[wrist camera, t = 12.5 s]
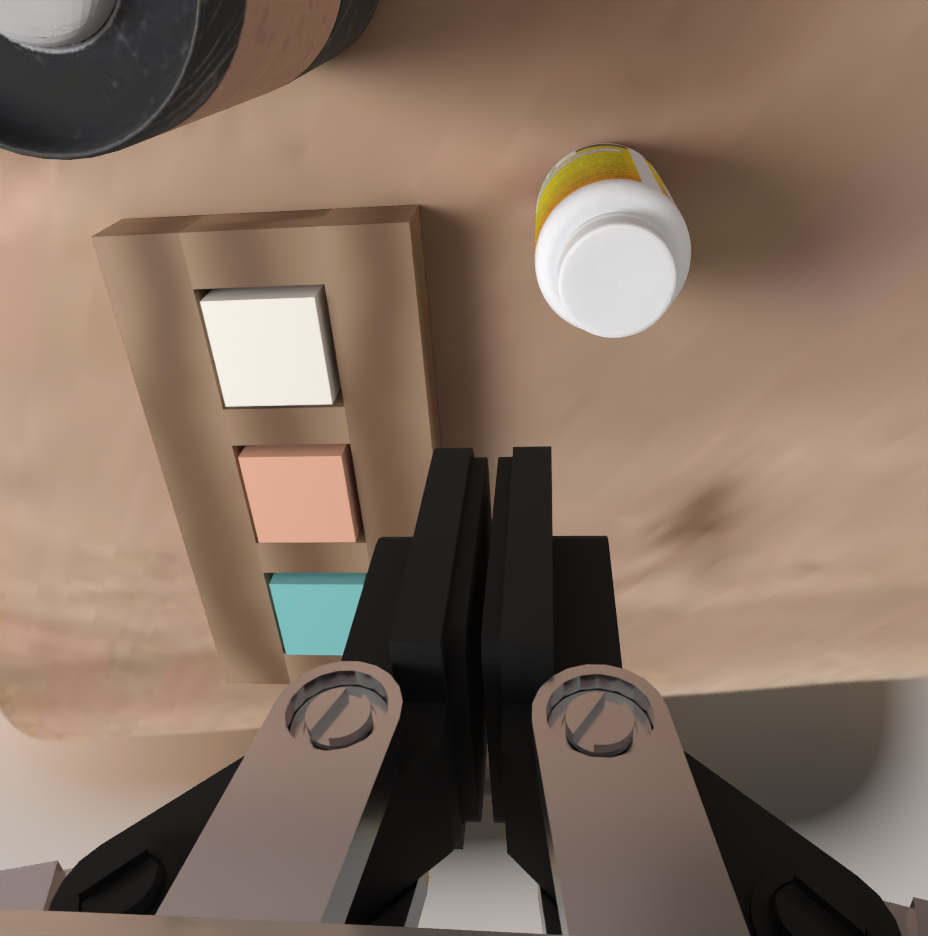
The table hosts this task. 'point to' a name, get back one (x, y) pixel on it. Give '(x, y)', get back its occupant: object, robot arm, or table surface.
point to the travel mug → (151, 64)
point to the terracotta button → (302, 492)
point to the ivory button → (272, 345)
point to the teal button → (316, 610)
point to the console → (232, 428)
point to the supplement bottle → (609, 241)
